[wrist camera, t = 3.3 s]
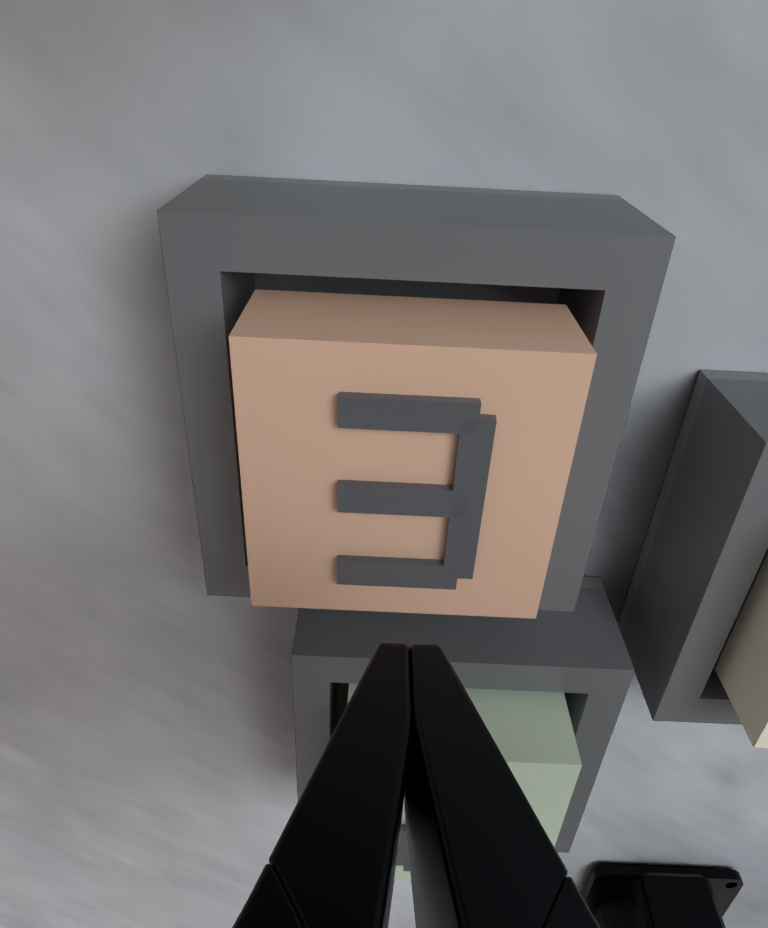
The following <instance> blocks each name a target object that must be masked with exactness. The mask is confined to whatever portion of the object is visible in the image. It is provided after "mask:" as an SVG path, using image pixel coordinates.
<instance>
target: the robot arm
mask: <svg viewBox="0 0 768 928" xmlns="http://www.w3.org/2000/svg"><path fill="white" fill-rule="evenodd" d="M403 804H404V809H405V823H406V834H407V844H408V853H409V863H410V873H411V883H412V892H413V902H414V912H415V922H416V928H726V927H725V925H724V922H723V919H722V917H723V915H724V913H725V912H726V910H727V909H728V907H729V906H730V904H731V903H732V901H733V900H734V898H735V897H736V895H737V894H738V892H739V891H740V889H741V888H742V886H743V881H742V879H741V876H740V874H739V872H738V871H736V870H726V869H702V868H678V867H655V866H631V865H607V864H605V865H598V866H596V867H594V868H593V869H592V871H591V873H590V876H589V878H588V881H587V883H586V885H585V888H584V890H583V893H582V895H581V893H580V892H579V890H578V888H577V886H576V885H575V883H574V881H573V879H572V878H571V877H566V876H567V873H568V872H567V869H566V867H565V866H564V864H563V862H562V860H561V858H560V857H559V855H558V853H557V851H556V850H555V848H554V846H553V844H552V842H551V841H550V839H549V837H548V835H547V834H546V832H545V830H544V828H543V826H542V825H541V823H540V821H539V819H538V818H537V816H536V814H535V812H534V810H533V809H532V807H531V805H530V803H529V802H528V800H527V798H526V796H525V794H524V793H523V791H522V789H521V787H520V786H519V784H518V782H517V780H516V778H515V777H514V775H513V773H512V771H511V770H510V768H509V766H508V764H507V762H506V761H505V759H504V757H503V755H502V754H501V752H500V750H499V748H498V747H497V745H496V743H495V741H494V739H493V738H492V736H491V734H490V732H489V731H488V729H487V727H486V725H485V723H484V722H483V720H482V718H481V716H480V715H479V713H478V711H477V709H476V707H475V706H474V704H473V702H472V700H471V699H470V697H469V695H468V693H467V691H466V690H465V688H464V686H463V684H462V683H461V681H460V679H459V677H458V675H457V674H456V672H455V670H454V668H453V667H452V665H451V663H450V661H449V659H448V658H447V656H446V654H445V652H444V651H443V649H442V648H441V646H439V645H438V644H426V643H413V644H412V645H411V646H410V649H409V646H408V644H407V643H404V642H381V643H379V645H378V646H377V647H376V649H375V651H374V653H373V655H372V657H371V659H370V661H369V663H368V665H367V667H366V669H365V671H364V673H363V675H362V677H361V679H360V681H359V683H358V685H357V687H356V689H355V691H354V693H353V695H352V697H351V699H350V701H349V702H348V704H347V706H346V708H345V710H344V712H343V714H342V716H341V718H340V720H339V722H338V724H337V726H336V728H335V730H334V732H333V734H332V736H331V738H330V740H329V742H328V744H327V746H326V748H325V750H324V752H323V754H322V756H321V758H320V760H319V761H318V763H317V765H316V767H315V769H314V771H313V773H312V775H311V777H310V779H309V781H308V783H307V785H306V787H305V789H304V791H303V793H302V795H301V797H300V799H299V801H298V803H297V805H296V807H295V809H294V811H293V813H292V815H291V817H290V818H289V820H288V822H287V824H286V826H285V828H284V830H283V832H282V834H281V836H280V838H279V840H278V842H277V844H276V846H275V848H274V850H273V852H272V854H271V856H270V858H269V864H267V865H265V867H264V869H263V871H262V873H261V875H260V877H259V879H258V881H257V883H256V885H255V886H254V888H253V890H252V892H251V894H250V896H249V898H248V900H247V902H246V904H245V905H244V907H243V909H242V911H241V913H240V914H239V916H238V918H237V920H236V922H235V924H234V925H233V927H232V928H388V923H389V915H390V908H391V900H392V893H393V885H394V877H395V870H396V862H397V854H398V847H399V839H400V831H401V823H402V813H403Z"/></svg>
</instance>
